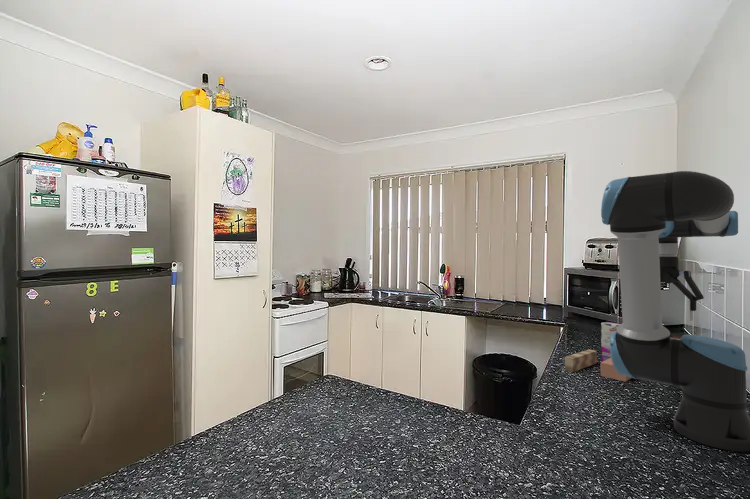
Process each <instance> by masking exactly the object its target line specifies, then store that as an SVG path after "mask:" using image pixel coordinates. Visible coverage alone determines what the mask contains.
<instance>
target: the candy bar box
mask: <svg viewBox="0 0 750 499" xmlns="http://www.w3.org/2000/svg"><path fill="white" fill-rule="evenodd" d="M620 324H621V323H616V322H610V321H605V322H601V323H600V346H601V348H600V352H601V354H600V358H601V360H600V361H601V362H603V361H605V360H607V359H609V358H611V354H610V337H611V334H612V333H613V332H617V327H618V326H619V325H620ZM601 362H600V363H601Z"/></svg>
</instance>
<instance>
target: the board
mask: <svg viewBox="0 0 750 499" xmlns="http://www.w3.org/2000/svg"><path fill="white" fill-rule="evenodd" d="M597 354H598V353H597V350H593V349H585V350H582V351H580V352H576V353H574V354H570V355H567V356H564V371H565V372H566V371H567V372H571V373H575V372H577V371H580V370H582V369H586V368H588V367H590V366H593V365H596V364H597V363H598V360H597V358H598V357H597Z"/></svg>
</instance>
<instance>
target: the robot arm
mask: <svg viewBox="0 0 750 499" xmlns="http://www.w3.org/2000/svg"><path fill="white" fill-rule="evenodd" d="M734 201H735V194H734V192H733V190H732V188H731V187H730V185H728V184H727V182H725V181H724V180H722V179H720V178H719V177H718V178H717V177H716V176H713V175H710V174H707V173H704V172H703V173H702V172H697V171H693V170H692V171H691V170H679V171H673V172H666V173H665V172H663V173H654V174H646V175H638V176H627V177H622V178H617V179H613V180H611V181H609V182H608V183H607V185H606V186H605V188H604V191H603V195H602V200H601V209H600V210H601V211H600V216H601V223H602V224H603V225H606V226H609V230H610V233H611V234H612V235H614V236H615V237H616V238H617V246H618V247H617V250H618V264H619V266H618V267H619V268H618V269H619V282H620V299H621V300H620V302H621V314H622V318H621V319H622V323H619V324H620V325H619V326H618V327H617V332H613V333H612V334H611V337H610V354H611V359H612V363H613V366H614V368H615V369H616V371H617V372H618V373H619V374H621V375H624V376H628V377H632V378H633V379H634V380H642V381H647V382H652V383H653V382H654V383H658V384H663V385H669V386H676V387H680V388H681V392H682V394H681V396H682V397H681V400H680V402H679V405H678V407H677V408H676V412H675V413H674V415H673V428H674V430H675V431H676V432H677V433H678V434H680V435H682V436H683V437H685V438H688V439H689V440H691V441H694V442H696V443H699V444H702V445H705V446H707V447H711V448H714V449H715V448H716V449H720V450H726V451H731V452H750V416H749V415H750V414H749V413H748V410H747V404H748V403H747V402H748V401H747V371H748V366H747V362H746V353H745V351H744V350H743V349H742V348H741V347H739V346H738V345H736V344H733V343H731V342H728V341H725V340H721V339H717V338H714V337H709V336H703V335H697V334H696V335H694V334H683V335H681V336H682V337H681V340H676V339H670V337H671V331H670V330H669V329H668V328H667V327H665V326H664V325H663V316H662V315H663V312H662V311H663V310H662V289H661V288H662V287H661V284H662V283H663V284H664V283H665V284H673V285H674V286H675V287H676V288H677V289H678V290H680V292H681V293H682V294H683V295H684V296H685V297H686V298H687V299H688V300H686V321H687V322H691V321H693V320H694V318H693V317H694V315H693V314H694V312H695V311H696V312H697V301H699V300H703V299H704V298H705V296H704V295H703V294H702V292H701V290H700V289H699V287H698V285H697V283H696V282H695V281H694V279H693V277H692V272H691V271H690V270H682V271H680V270H679V257H678V256H679V238H701V237H702V238H705V237H719V238H720V237H721V238H723V237H733V236H736V235H738V233H739V214H738V213H739V212H737V211H736V210H731V209H732V208H733V206H734V203H735V202H734ZM679 276H681V277H682V278H684V280H685V281H686V283H687V285H688V287H689V288H690V290H691V291H692V292H691V291H690V290H689V289H688V288H687V287H686V286H685V285H684V284H683V283H682V282H681V281H680V280H679ZM632 378H631V379H632Z"/></svg>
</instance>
